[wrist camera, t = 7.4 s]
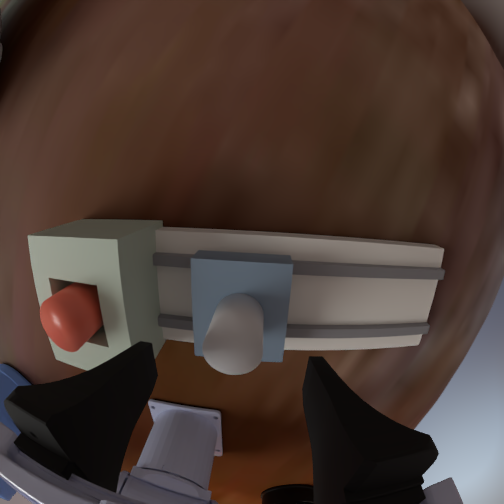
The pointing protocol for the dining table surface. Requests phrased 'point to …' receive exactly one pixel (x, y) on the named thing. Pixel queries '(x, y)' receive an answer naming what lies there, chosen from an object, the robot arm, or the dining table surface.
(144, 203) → the dining table surface
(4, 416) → the water jug
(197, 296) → the carriage
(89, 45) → the dining table surface
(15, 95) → the dining table surface
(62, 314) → the plunger
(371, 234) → the dining table surface
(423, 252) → the track
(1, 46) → the decorative bowl
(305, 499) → the french press
